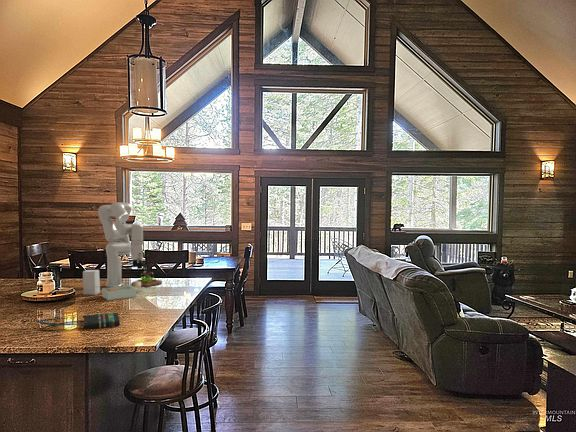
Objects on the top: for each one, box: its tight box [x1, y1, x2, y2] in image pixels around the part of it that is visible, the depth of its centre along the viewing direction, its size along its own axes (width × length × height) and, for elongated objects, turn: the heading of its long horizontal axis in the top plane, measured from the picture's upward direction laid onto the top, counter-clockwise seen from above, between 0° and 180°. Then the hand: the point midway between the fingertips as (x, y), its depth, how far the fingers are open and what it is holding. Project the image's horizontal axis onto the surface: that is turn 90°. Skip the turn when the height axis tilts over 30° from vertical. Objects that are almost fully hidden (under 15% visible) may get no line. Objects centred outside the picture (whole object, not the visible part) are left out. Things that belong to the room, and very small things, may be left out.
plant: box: [130, 270, 163, 288], centre depth 303 cm, size 20×20×11 cm
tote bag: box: [38, 312, 121, 332], centre depth 201 cm, size 21×5×35 cm
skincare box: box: [82, 269, 101, 296], centre depth 270 cm, size 8×7×16 cm
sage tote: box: [101, 284, 137, 302], centre depth 262 cm, size 13×17×6 cm
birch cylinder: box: [132, 280, 142, 294], centre depth 277 cm, size 5×5×7 cm
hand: (137, 267), depth 277 cm, fingers open, 9 cm apart
